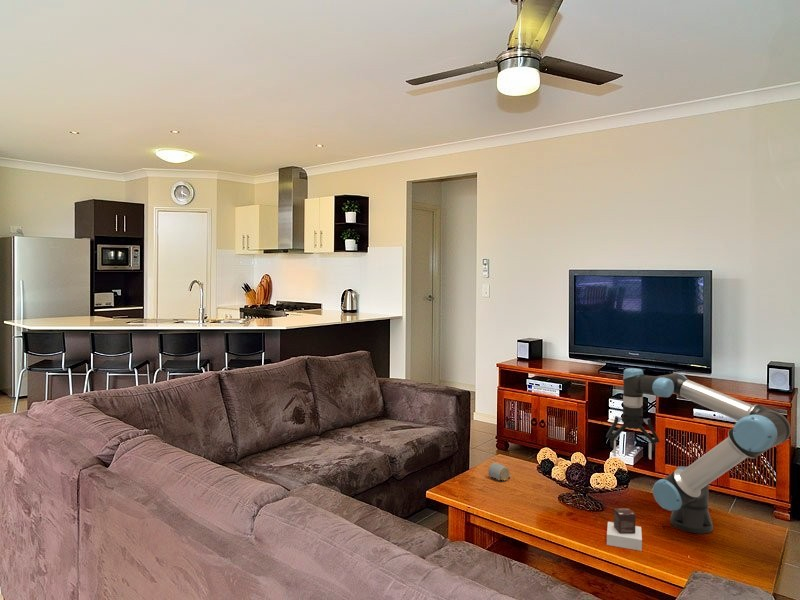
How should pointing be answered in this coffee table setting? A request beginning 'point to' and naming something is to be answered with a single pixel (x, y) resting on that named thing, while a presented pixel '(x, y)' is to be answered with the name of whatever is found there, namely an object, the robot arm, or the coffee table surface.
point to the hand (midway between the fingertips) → (632, 457)
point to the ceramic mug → (498, 471)
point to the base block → (624, 538)
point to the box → (624, 520)
